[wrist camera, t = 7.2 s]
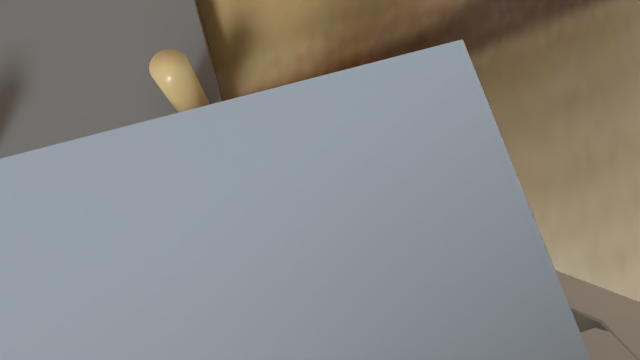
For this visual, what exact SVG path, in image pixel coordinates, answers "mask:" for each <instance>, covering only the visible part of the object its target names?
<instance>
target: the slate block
mask: <svg viewBox="0 0 640 360" xmlns="http://www.w3.org/2000/svg"><path fill="white" fill-rule="evenodd" d="M0 360H591V358H590V356H589V353H588V351H587V348H586V346H585V343H584V341H583V338H582V336H581V333H580V331H579V328H578V326H577V323H576V321H575V318H574V316H573V313H572V311H571V308H570V306H569V303H568V301H567V298H566V296H565V293H564V291H563V288H562V286H561V283H560V281H559V278H558V276H557V273H556V271H555V268H554V266H553V263H552V261H551V258H550V256H549V254H548V251H547V249H546V246H545V244H544V241H543V239H542V236H541V234H540V231H539V229H538V226H537V224H536V221H535V219H534V216H533V214H532V211H531V209H530V206H529V204H528V201H527V199H526V196H525V194H524V191H523V189H522V186H521V184H520V181H519V179H518V176H517V174H516V171H515V169H514V166H513V164H512V161H511V159H510V156H509V154H508V151H507V149H506V146H505V144H504V141H503V139H502V136H501V134H500V131H499V129H498V126H497V124H496V121H495V119H494V116H493V114H492V111H491V109H490V106H489V104H488V101H487V99H486V96H485V94H484V91H483V89H482V86H481V84H480V81H479V79H478V76H477V74H476V71H475V69H474V66H473V64H472V61H471V59H470V56H469V54H468V51H467V49H466V46H465V44H464V41H463V39H462V40H458V41H454V42H450V43H446V44H442V45H439V46H435V47H431V48H427V49H423V50H419V51H415V52H411V53H408V54H404V55H400V56H396V57H392V58H388V59H384V60H380V61H377V62H373V63H369V64H365V65H361V66H357V67H353V68H349V69H346V70H342V71H338V72H334V73H330V74H326V75H322V76H318V77H315V78H311V79H307V80H303V81H299V82H295V83H291V84H287V85H284V86H280V87H276V88H272V89H268V90H264V91H260V92H257V93H253V94H249V95H245V96H241V97H237V98H233V99H229V100H226V101H222V102H218V103H214V104H210V105H206V106H202V107H198V108H195V109H191V110H187V111H183V112H179V113H175V114H171V115H167V116H164V117H160V118H156V119H152V120H148V121H144V122H140V123H136V124H133V125H129V126H125V127H121V128H117V129H113V130H109V131H105V132H102V133H98V134H94V135H90V136H86V137H82V138H78V139H75V140H71V141H67V142H63V143H59V144H55V145H51V146H47V147H44V148H40V149H36V150H32V151H28V152H24V153H20V154H16V155H13V156H9V157H5V158H1V159H0Z"/></svg>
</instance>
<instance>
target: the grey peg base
mask: <svg viewBox="0 0 640 360" xmlns="http://www.w3.org/2000/svg"><path fill="white" fill-rule="evenodd" d="M222 101H223V99H222V95H221V91H220V88H219V84H218V80H217V76H216V73H215V69H214V65H213V61H212V58H211V54H210V50H209V46H208V43H207V39H206V35H205V32H204V28H203V24H202V20H201V17H200V13H199V9H198V5H197V2H196V0H0V159H1V158H5V157H9V156H13V155H16V154H20V153H24V152H28V151H32V150H36V149H40V148H44V147H47V146H51V145H55V144H59V143H63V142H67V141H71V140H75V139H78V138H82V137H86V136H90V135H94V134H98V133H102V132H105V131H109V130H113V129H117V128H121V127H125V126H129V125H133V124H136V123H140V122H144V121H148V120H152V119H156V118H160V117H164V116H167V115H171V114H175V113H179V112H183V111H187V110H191V109H195V108H198V107H202V106H206V105H210V104H214V103H218V102H222Z"/></svg>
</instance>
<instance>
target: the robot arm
mask: <svg viewBox="0 0 640 360" xmlns="http://www.w3.org/2000/svg"><path fill="white" fill-rule="evenodd" d="M555 271H556V270H555ZM556 273H557V276H558V278H559V281H560V283H561V286H562V288H563V291H564V293H565V296H566V298H567V301H568V303H569V306H570V308H571V311H572V313H573V316H574V318H575V321H576V323H577V326H578V328H579V331H580V333H581V336H582V338H583V341H584V343H585V346H586V348H587V351H588V353H589V356H590V358H591V360H640V302H638V301H635V300H633V299H630V298H627V297H625V296H622V295H619V294H617V293H614V292H611V291H609V290H606V289H603V288H601V287H598V286H596V285H593V284H590V283H588V282H585V281H582V280H580V279H577V278H574V277H572V276H569V275H566V274H564V273H561V272H558V271H556Z"/></svg>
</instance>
